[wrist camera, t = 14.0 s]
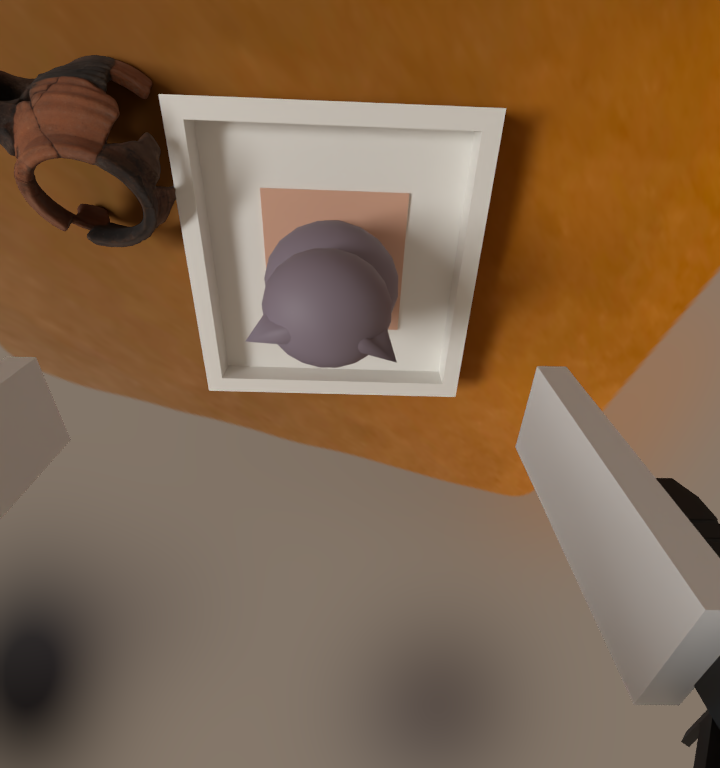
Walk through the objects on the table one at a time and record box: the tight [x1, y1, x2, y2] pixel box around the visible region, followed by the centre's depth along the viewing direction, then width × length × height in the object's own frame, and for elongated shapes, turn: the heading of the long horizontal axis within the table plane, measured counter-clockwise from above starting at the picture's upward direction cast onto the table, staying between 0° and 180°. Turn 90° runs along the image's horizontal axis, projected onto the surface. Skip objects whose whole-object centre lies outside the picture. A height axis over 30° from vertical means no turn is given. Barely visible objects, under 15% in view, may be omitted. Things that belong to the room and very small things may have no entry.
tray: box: [158, 94, 506, 397], centre depth 32 cm, size 20×20×3 cm
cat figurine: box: [245, 220, 398, 368], centre depth 27 cm, size 8×8×12 cm
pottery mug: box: [0, 55, 176, 247], centre depth 27 cm, size 12×10×8 cm
